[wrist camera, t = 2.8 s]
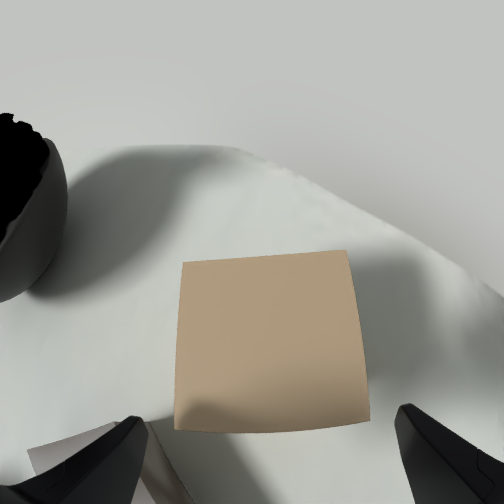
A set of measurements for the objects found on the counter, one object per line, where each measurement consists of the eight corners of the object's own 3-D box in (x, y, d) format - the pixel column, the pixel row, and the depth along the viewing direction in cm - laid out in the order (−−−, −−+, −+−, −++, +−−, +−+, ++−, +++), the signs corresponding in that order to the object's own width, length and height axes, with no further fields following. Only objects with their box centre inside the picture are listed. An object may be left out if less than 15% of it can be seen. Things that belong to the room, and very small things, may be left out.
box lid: (353, 418, 11) (370, 420, 9) (196, 425, 12) (174, 429, 9) (336, 278, 15) (346, 249, 13) (199, 288, 16) (182, 262, 13)
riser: (212, 527, 12) (192, 554, 8) (115, 543, 11) (83, 559, 7) (148, 421, 17) (113, 421, 13) (65, 450, 16) (26, 449, 11)
